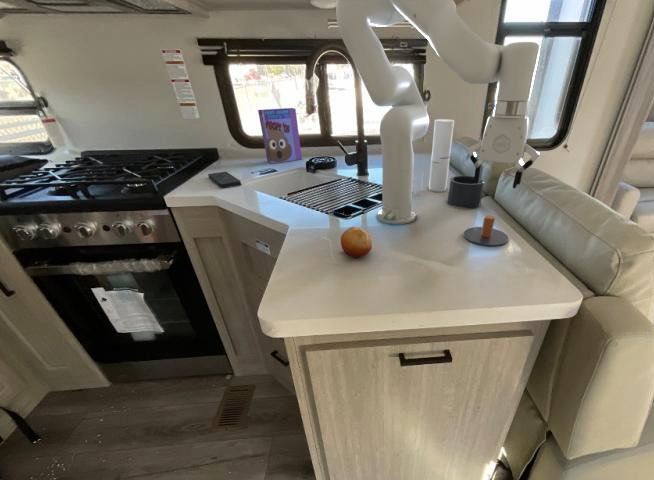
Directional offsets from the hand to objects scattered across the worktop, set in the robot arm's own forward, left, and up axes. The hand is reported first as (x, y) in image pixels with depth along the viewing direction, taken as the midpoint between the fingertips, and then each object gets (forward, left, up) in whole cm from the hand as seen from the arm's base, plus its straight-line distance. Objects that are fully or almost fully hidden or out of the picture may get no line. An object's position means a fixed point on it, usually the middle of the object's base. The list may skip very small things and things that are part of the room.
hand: (496, 184), depth 85 cm
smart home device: (+2, +114, -16) cm, 115 cm away
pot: (+27, +15, -15) cm, 34 cm away
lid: (0, 0, -15) cm, 15 cm away
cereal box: (+45, +119, -16) cm, 128 cm away
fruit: (-27, +27, -16) cm, 41 cm away
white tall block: (+39, +30, -16) cm, 51 cm away
